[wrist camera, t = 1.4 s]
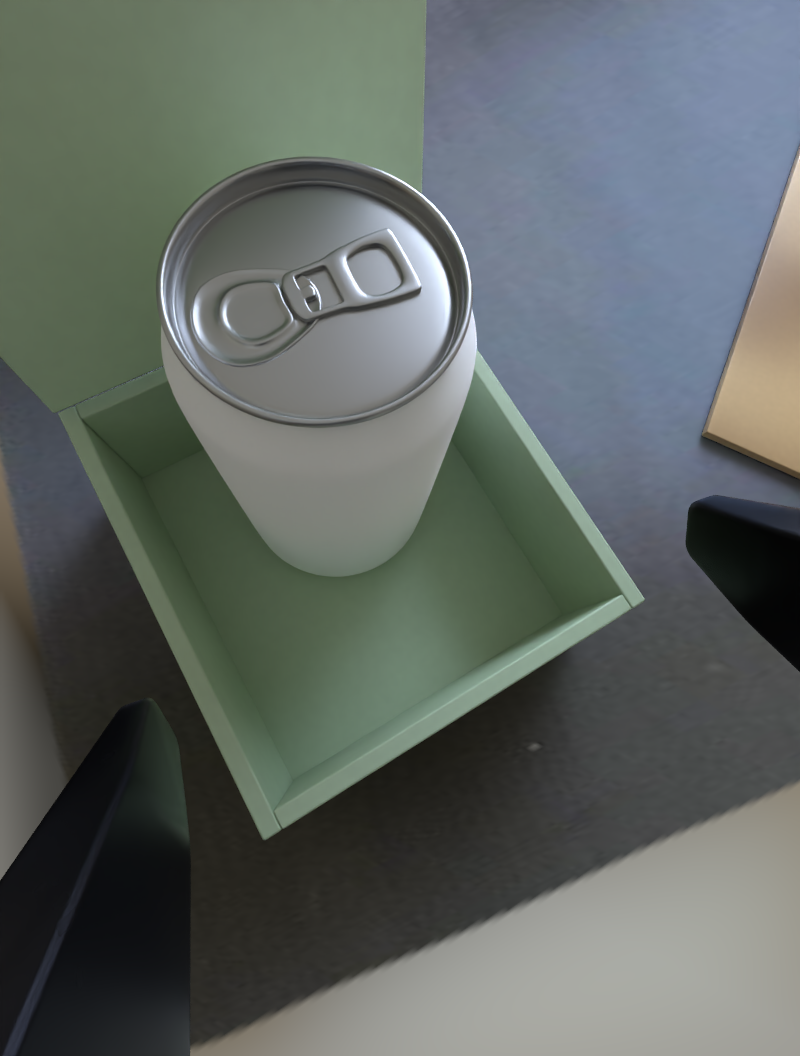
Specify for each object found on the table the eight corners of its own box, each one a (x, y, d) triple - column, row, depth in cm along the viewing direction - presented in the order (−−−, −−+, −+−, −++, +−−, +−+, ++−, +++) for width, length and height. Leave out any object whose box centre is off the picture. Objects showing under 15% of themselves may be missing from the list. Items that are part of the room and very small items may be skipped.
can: (223, 454, 22) (77, 195, 10) (378, 393, 23) (402, 99, 12) (291, 609, 21) (209, 510, 9) (451, 536, 22) (561, 366, 10)
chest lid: (447, -805, 6) (278, -794, 8) (-1080, -775, 4) (-897, -767, 5) (421, 253, 19) (358, 178, 20) (53, 414, 16) (13, 315, 18)
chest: (575, 621, 22) (646, 600, 16) (288, 799, 19) (263, 842, 14) (402, 349, 24) (415, 255, 19) (128, 478, 22) (56, 412, 17)
